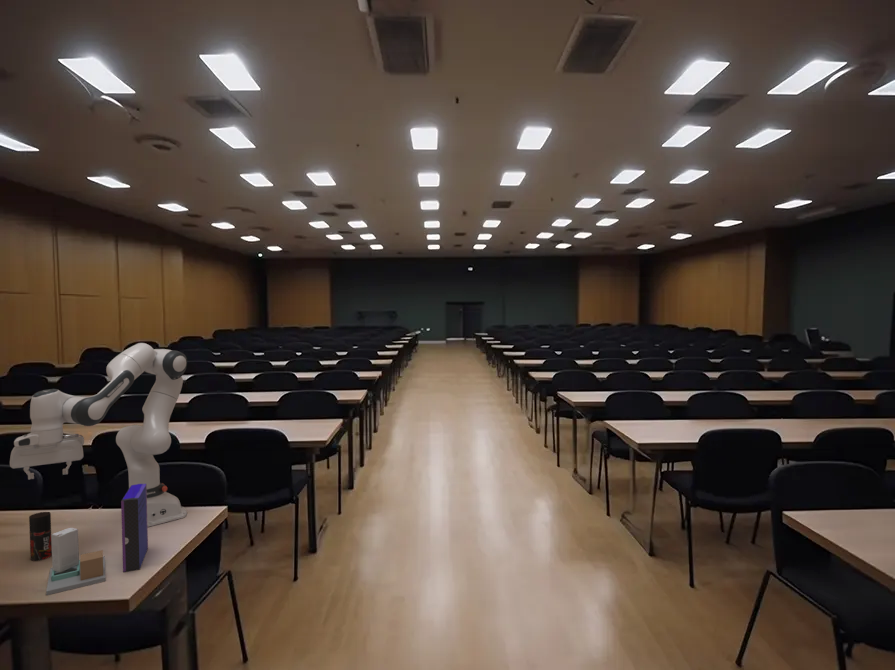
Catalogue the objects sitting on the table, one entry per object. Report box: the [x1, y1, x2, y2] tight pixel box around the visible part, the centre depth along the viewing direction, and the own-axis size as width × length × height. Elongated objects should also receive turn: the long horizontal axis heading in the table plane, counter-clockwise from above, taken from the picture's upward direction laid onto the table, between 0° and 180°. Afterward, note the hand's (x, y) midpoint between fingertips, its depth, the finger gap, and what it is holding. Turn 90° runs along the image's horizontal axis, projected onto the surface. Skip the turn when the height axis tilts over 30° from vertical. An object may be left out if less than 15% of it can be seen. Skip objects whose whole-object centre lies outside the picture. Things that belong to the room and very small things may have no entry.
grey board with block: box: [45, 549, 106, 596], centre depth 170 cm, size 15×18×7 cm
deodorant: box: [28, 511, 52, 562], centre depth 183 cm, size 6×6×15 cm
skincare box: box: [51, 527, 80, 572], centre depth 170 cm, size 6×4×12 cm
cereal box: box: [120, 484, 149, 573], centre depth 181 cm, size 17×5×24 cm, turn 22°
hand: (48, 476), depth 181 cm, fingers open, 8 cm apart
